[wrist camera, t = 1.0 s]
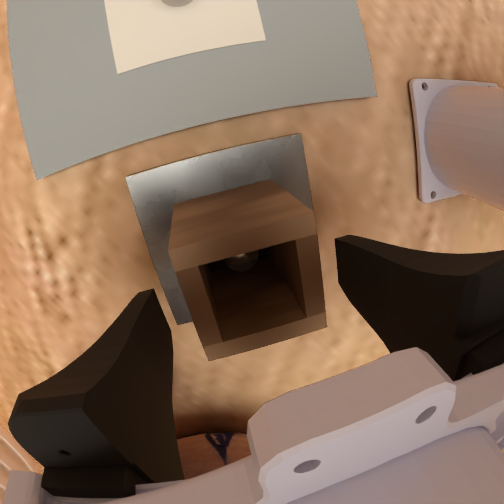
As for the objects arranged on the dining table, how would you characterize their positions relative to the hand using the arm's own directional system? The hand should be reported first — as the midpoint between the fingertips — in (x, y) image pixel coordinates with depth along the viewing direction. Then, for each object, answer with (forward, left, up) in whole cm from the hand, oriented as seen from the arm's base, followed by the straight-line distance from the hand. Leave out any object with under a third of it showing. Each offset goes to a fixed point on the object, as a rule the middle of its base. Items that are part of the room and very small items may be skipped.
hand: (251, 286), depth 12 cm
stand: (0, 0, -6) cm, 6 cm away
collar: (0, 0, -5) cm, 5 cm away
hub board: (0, -13, -6) cm, 14 cm away
